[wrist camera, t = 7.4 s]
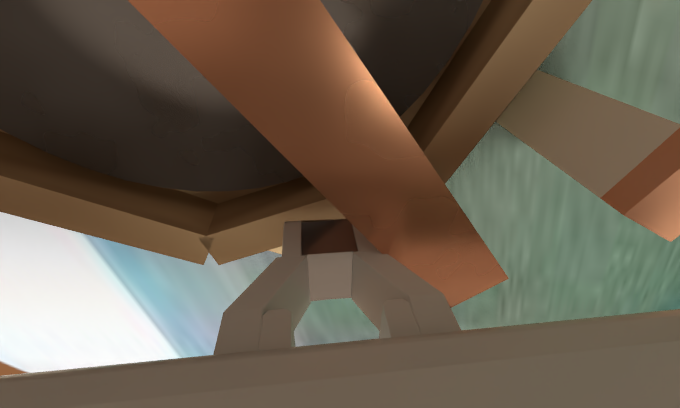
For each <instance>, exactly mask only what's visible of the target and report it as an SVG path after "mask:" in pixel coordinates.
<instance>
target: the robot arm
mask: <svg viewBox="0 0 680 408" xmlns="http://www.w3.org/2000/svg"><path fill="white" fill-rule="evenodd" d="M338 298H352V300H353V301H354V302H355V303H356V305H357V306H358V307H359V308H360V309H361V310H362V311H363V313H364V314H365V315H366V316H367V317H368V318H369V319H370V321H371V322H372V323H373V324H374V325H375V326H376V327H377V328H378V330H379V331H380V332H379V339H371V340H360V341H350V342H340V343H330V344H320V345H310V346H300V347H295V338H294V330H295V328H296V327H297V325H298V323H299V321H300V320H301V318H302V316H303V315H304V313H305V311H306V310H307V308H308V306H309V305H310V303H311V302H310V301H317V300H326V299H338ZM0 408H680V309H675V310H665V311H655V312H645V313H635V314H625V315H614V316H604V317H594V318H584V319H574V320H564V321H554V322H543V323H533V324H523V325H513V326H503V327H493V328H483V329H472V330H462V331H461V329H460V327H459V325H458V323H457V321H456V318H455V316H454V314H453V312H452V310H451V308H450V306H449V304H448V302H447V300H446V298H445V296H444V294H443V293H442V292H440V291H439V290H437V289H436V288H435V287H433V286H432V285H430V284H429V283H428V282H426V281H425V280H423V279H422V278H421V277H419V276H418V275H416V274H415V273H414V272H412V271H411V270H409V269H408V268H407V267H405V266H404V265H402V264H401V263H400V262H398V261H397V260H395V259H394V258H393V257H391V256H390V255H388V254H382V253H381V252H380V251H379V250H377V248H376V247H375V246H374V245H373V244H372V243H371V242H370V241H369V240H368V239H367V238H366V237H365V236H364V235H363V234H362V233H361V232H360V231H359V230H358V229H357V228H355V227H354V226H353V225H352V224H351V223H350V222H349V221H348V220H347V219H328V220H304V221H287V222H284V228H283V244H282V257H278V258H276V259H275V260H274V261H273V262H272V263H271V264H270V265H269V266H268V267H267V268H266V269H265V270H264V271H263V272H262V273H261V274H260V275H259V276H258V278H257V279H256V280H255V281H254V282H253V283H252V284H251V285H250V286H249V287H248V288H247V289H246V290H245V291H244V292H243V293H242V294H241V295H240V296H239V297H238V298H237V299H236V300H235V301H234V302H233V303H232V304H231V305H230V306H229V307H228V308H227V309H226V311H225V312H224V313H223V317H222V321H221V325H220V329H219V333H218V338H217V342H216V346H215V350H214V355H208V356H198V357H188V358H178V359H168V360H158V361H148V362H138V363H127V364H117V365H107V366H97V367H87V368H77V369H67V370H56V371H46V372H36V373H26V374H16V375H6V376H0Z"/></svg>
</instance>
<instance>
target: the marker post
mask: <svg viewBox="0 0 680 408" xmlns="http://www.w3.org/2000/svg"><path fill="white" fill-rule="evenodd" d="M496 122H497V123H498V124H499V125H501V126H502V127H504V128H505V129H506V130H508V131H509V132H510V133H512V134H513V135H515V136H516V137H517V138H519V139H520V140H521V141H523V142H524V143H525V144H527V145H528V146H530V147H531V148H532V149H534V150H535V151H536V152H538V153H539V154H541V155H542V156H543V157H545V158H546V159H547V160H549V161H550V162H552V163H553V164H554V165H556V166H557V167H558V168H560V169H561V170H562V171H564V172H565V173H567V174H568V175H569V176H571V177H572V178H573V179H575V180H576V181H578V182H579V183H580V184H582V185H583V186H584V187H586V188H587V189H589V190H590V191H591V192H593V193H594V194H595V195H597V196H598V197H599V198H601V199H602V200H604V201H605V202H606V203H608V204H609V205H610V206H612V207H613V208H615V209H616V210H617V211H619V212H620V213H621V214H623V215H624V216H626V217H628V218H630V219H631V220H633V221H635V222H637V223H638V224H640V225H642V226H644V227H646V228H647V229H649V230H651V231H653V232H654V233H656V234H658V235H660V236H661V237H663V238H665V239H667V240H668V241H670V242H671V241H672V240H674V239H675V238H676V237H678V236H679V235H680V124H677V123H675V122H672V121H670V120H667V119H664V118H662V117H659V116H657V115H654V114H651V113H649V112H646V111H644V110H641V109H638V108H636V107H633V106H630V105H628V104H625V103H623V102H620V101H617V100H615V99H612V98H610V97H607V96H604V95H602V94H599V93H597V92H594V91H591V90H589V89H586V88H583V87H581V86H578V85H576V84H573V83H570V82H568V81H565V80H563V79H560V78H557V77H555V76H552V75H550V74H547V73H544V72H542V71H539V70H537V71H536V72H535V73H534V74H533V76H532V77H531V78H530V79H529V81H528V82H527V83H526V84H525V85H524V87H523V88H522V89H521V90H520V92H519V93H518V94H517V95H516V97H515V98H514V99H513V100H512V102H511V103H510V104H509V105H508V107H507V108H506V109H505V110H504V112H503V113H502V114H501V115H500V117H499V118H498V119H497V120H496Z"/></svg>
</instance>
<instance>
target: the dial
mask: <svg viewBox="0 0 680 408" xmlns="http://www.w3.org/2000/svg"><path fill="white" fill-rule="evenodd" d="M482 2H483V0H0V129H1V130H3V131H5V132H6V133H8V134H10V135H12V136H14V137H17V138H19V139H21V140H23V141H25V142H27V143H29V144H31V145H33V146H35V147H37V148H39V149H41V150H43V151H45V152H47V153H49V154H52V155H54V156H57V157H59V158H62V159H64V160H67V161H69V162H72V163H74V164H77V165H79V166H82V167H84V168H87V169H90V170H93V171H96V172H100V173H103V174H106V175H110V176H113V177H116V178H120V179H123V180H126V181H131V182H136V183H141V184H146V185H151V186H156V187H161V188H169V189H179V190H188V191H235V190H245V189H254V188H261V187H266V186H270V185H274V184H279V183H283V182H288V181H291V180H294V179H297V178H300V177H302V176H304V177H305V178H306V179H307V180H308V181H309V182H310V183H311V184H312V185H313V186H314V187H315V188H316V189H317V190H318V191H319V192H320V193H321V194H322V195H323V196H324V197H325V198H326V199H327V200H328V201H329V202H330V203H331V204H332V205H333V206H334V207H335V208H336V209H337V210H338V211H339V212H340V213H341V214H342V215H343V216H344V217H345V218H346V219H347V220H348V221H349V222H350V223H351V224H352V225H353V226H354V227H355V228H357V229H358V230H359V231H360V232H361V233H362V234H363V235H364V236H365V237H366V238H367V239H368V240H369V241H370V242H371V243H372V244H373V245H374V246H375V247H376V248H377V249H378V250H379V251H380V252H381V253H382V254H388V255H390V256H391V257H393V258H394V259H395V260H397V261H398V262H400V263H401V264H402V265H404V266H405V267H407V268H408V269H409V270H411V271H412V272H414V273H415V274H416V275H418V276H419V277H421V278H422V279H423V280H425V281H426V282H428V283H429V284H430V285H432V286H433V287H435V288H436V289H437V290H439V291H440V292H442V293H443V294H444V296H445V298H446V300H447V302H448V304H449V306H450V308H451V307H453V306H455V305H457V304H459V303H461V302H463V301H465V300H467V299H469V298H471V297H473V296H475V295H477V294H479V293H481V292H483V291H485V290H487V289H489V288H491V287H493V286H495V285H497V284H499V283H501V282H503V281H505V280H507V279H509V278H508V277H507V275H506V274H505V272H504V271H503V269H502V268H501V267H500V265H499V264H498V262H497V261H496V259H495V258H494V256H493V255H492V253H491V252H490V250H489V249H488V247H487V246H486V244H485V243H484V241H483V240H482V238H481V237H480V236H479V234H478V233H477V231H476V230H475V228H474V227H473V225H472V224H471V222H470V221H469V219H468V218H467V216H466V215H465V213H464V212H463V210H462V209H461V207H460V206H459V205H458V203H457V202H456V200H455V199H454V197H453V196H452V194H451V193H450V191H449V190H448V188H447V187H446V185H445V184H444V182H443V181H442V179H441V178H440V176H439V175H438V174H437V172H436V171H435V169H434V168H433V166H432V165H431V163H430V162H429V160H428V159H427V157H426V156H425V154H424V153H423V151H422V150H421V148H420V147H419V145H418V144H417V143H416V141H415V140H414V138H413V137H412V135H411V134H410V132H409V131H408V129H407V128H406V126H405V125H404V123H403V122H402V120H401V119H400V117H401V116H402V115H403V113H404V112H405V111H406V110H407V109H408V108H409V107H410V106H411V105H412V104H413V103H414V102H415V101H416V100H417V99H418V98H419V97H420V96H421V95H422V94H423V93H424V92H425V90H426V89H427V88H428V86H429V85H430V84H431V83H432V81H433V80H434V79H435V77H436V76H437V75H438V74H439V72H440V71H441V70H442V68H443V67H444V66H445V65H446V63H447V62H448V61H449V59H450V57H451V56H452V54H453V53H454V51H455V49H456V48H457V46H458V45H459V43H460V41H461V40H462V38H463V37H464V35H465V33H466V32H467V30H468V28H469V27H470V25H471V24H472V22H473V20H474V18H475V16H476V14H477V12H478V10H479V8H480V6H481V4H482Z"/></svg>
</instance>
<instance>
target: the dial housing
mask: <svg viewBox="0 0 680 408" xmlns="http://www.w3.org/2000/svg"><path fill="white" fill-rule="evenodd" d="M591 1H592V0H483V2H482V4H481V6H480V8H479V10H478V12H477V14H476V16H475V18H474V20H473V22H472V24H471V25H470V27H469V28H468V30H467V32H466V33H465V35H464V37H463V38H462V40H461V41H460V43H459V45H458V46H457V48H456V49H455V51H454V53H453V54H452V56H451V57H450V59H449V61H448V62H447V63H446V65H445V66H444V67H443V68H442V70H441V71H440V72H439V74H438V75H437V76H436V77H435V79H434V80H433V81H432V83H431V84H430V85H429V86H428V88H427V89H426V90H425V92H424V93H423V94H422V95H421V96H420V97H419V98H418V99H417V100H416V101H415V102H414V103H413V104H412V105H411V106H410V107H409V108H408V109H407V110H406V111H405V112H404V113H403V115H402V116H401V117H400V119H401V120H402V122H403V123H404V125H405V126H406V128H407V129H408V131H409V132H410V134H411V135H412V137H413V138H414V140H415V141H416V143H417V144H418V145H419V147H420V148H421V150H422V151H423V153H424V154H425V156H426V157H427V159H428V160H429V162H430V163H431V165H432V166H433V168H434V169H435V171H436V172H437V174H438V175H439V176H440V178H441V179H442V181H443V182H444V184H445V183H446V182H447V181H448V179H449V178H450V177H451V176H452V174H453V173H454V172H455V171H456V169H457V168H458V167H459V166H460V165H461V163H462V162H463V161H464V160H465V158H466V157H467V156H468V155H469V153H470V152H471V151H472V150H473V148H474V147H475V146H476V145H477V143H478V142H479V141H480V140H481V138H482V137H483V136H484V135H485V133H486V132H487V131H488V130H489V128H490V127H491V126H492V125H493V123H494V122H495V121H496V120H497V118H498V117H499V116H500V115H501V113H502V112H503V111H504V110H505V108H506V107H507V106H508V105H509V103H510V102H511V101H512V100H513V98H514V97H515V96H516V95H517V93H518V92H519V91H520V90H521V88H522V87H523V86H524V85H525V83H526V82H527V81H528V80H529V78H530V77H531V76H532V75H533V74H534V72H535V71H536V70H537V69H538V67H539V66H540V65H541V64H542V62H543V61H544V60H545V59H546V57H547V56H548V55H549V54H550V52H551V51H552V50H553V49H554V47H555V46H556V45H557V44H558V42H559V41H560V40H561V39H562V37H563V36H564V35H565V34H566V32H567V31H568V30H569V29H570V27H571V26H572V25H573V24H574V22H575V21H576V20H577V19H578V17H579V16H580V15H581V14H582V12H583V11H584V10H585V9H586V7H587V6H588V5H589V4H590V2H591ZM0 212H4V213H7V214H11V215H15V216H19V217H23V218H26V219H30V220H34V221H38V222H42V223H45V224H49V225H53V226H57V227H61V228H64V229H68V230H72V231H76V232H80V233H84V234H87V235H91V236H95V237H99V238H103V239H106V240H110V241H114V242H118V243H122V244H125V245H129V246H133V247H137V248H141V249H144V250H148V251H152V252H156V253H160V254H163V255H167V256H171V257H175V258H179V259H183V260H186V261H190V262H194V263H198V264H202V265H204V263H205V260H206V258H207V255H208V253H210V254H211V255H212V257H213V258H214V259H215V261H216V262H217V263H218V265H221V264H224V263H227V262H231V261H234V260H237V259H241V258H244V257H247V256H251V255H254V254H257V253H261V252H264V251H267V250H269V251H272V252H275V253H279V254H282V244H283V228H284V222H287V221H304V220H328V219H346V218H345V217H344V216H343V215H342V214H341V213H340V212H339V211H338V210H337V209H336V208H335V207H334V206H333V205H332V204H331V203H330V202H329V201H328V200H327V199H326V198H325V197H324V196H323V195H322V194H321V193H320V192H319V191H318V190H317V189H316V188H315V187H314V186H313V185H312V184H311V183H310V182H309V181H308V180H307V179H306V178H305V177H304V176H302V177H300V178H297V179H294V180H291V181H288V182H283V183H279V184H274V185H270V186H266V187H261V188H254V189H245V190H235V191H188V190H179V189H169V188H161V187H156V186H151V185H146V184H141V183H136V182H131V181H126V180H123V179H120V178H116V177H113V176H110V175H106V174H103V173H100V172H96V171H93V170H90V169H87V168H84V167H82V166H79V165H77V164H74V163H72V162H69V161H67V160H64V159H62V158H59V157H57V156H54V155H52V154H49V153H47V152H45V151H43V150H41V149H39V148H37V147H35V146H33V145H31V144H29V143H27V142H25V141H23V140H21V139H19V138H17V137H14V136H12V135H10V134H8V133H6V132H5V131H3V130H1V129H0Z"/></svg>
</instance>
